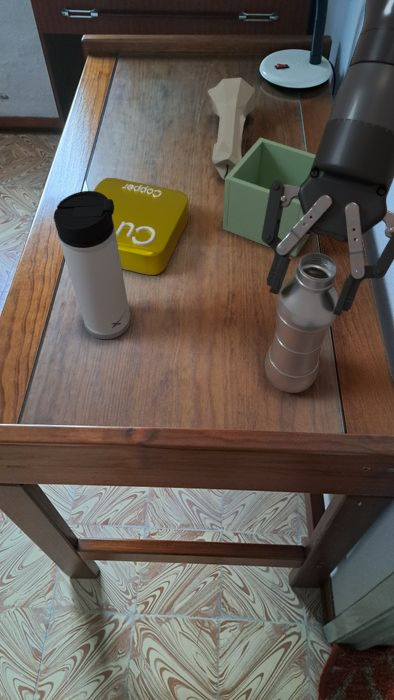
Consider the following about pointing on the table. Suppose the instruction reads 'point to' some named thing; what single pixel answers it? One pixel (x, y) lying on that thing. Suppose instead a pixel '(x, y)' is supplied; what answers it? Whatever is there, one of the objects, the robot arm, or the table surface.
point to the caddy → (264, 189)
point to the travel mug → (94, 262)
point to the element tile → (145, 222)
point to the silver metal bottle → (302, 323)
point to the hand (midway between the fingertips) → (305, 303)
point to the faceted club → (230, 121)
